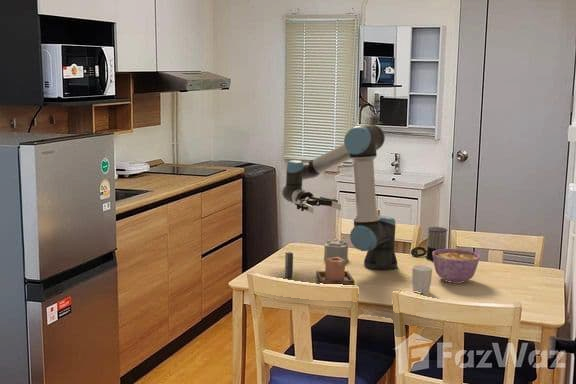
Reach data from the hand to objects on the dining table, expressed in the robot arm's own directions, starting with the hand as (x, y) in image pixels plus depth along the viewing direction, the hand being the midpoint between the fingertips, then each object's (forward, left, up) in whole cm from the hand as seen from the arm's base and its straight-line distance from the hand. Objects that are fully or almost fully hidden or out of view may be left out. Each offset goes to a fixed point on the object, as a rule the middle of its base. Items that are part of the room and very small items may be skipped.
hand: (326, 208), depth 307 cm
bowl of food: (-55, +9, -30) cm, 63 cm away
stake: (+16, +4, -30) cm, 34 cm away
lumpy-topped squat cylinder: (-10, -28, -30) cm, 42 cm away
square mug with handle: (-3, +9, -29) cm, 30 cm away
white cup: (-36, +24, -30) cm, 53 cm away
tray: (-3, +9, -30) cm, 31 cm away
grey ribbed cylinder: (-55, -28, -30) cm, 68 cm away
